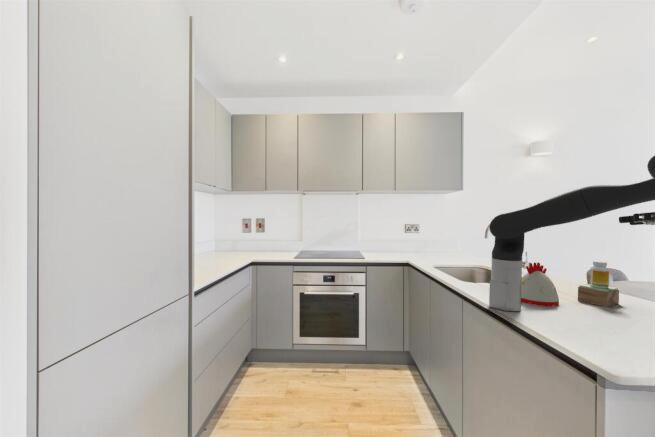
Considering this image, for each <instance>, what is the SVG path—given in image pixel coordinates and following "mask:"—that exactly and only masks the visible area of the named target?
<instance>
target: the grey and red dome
mask: <svg viewBox="0 0 655 437" xmlns="http://www.w3.org/2000/svg"><path fill="white" fill-rule="evenodd" d="M540 263H541V262H533V264H532V263H531V262H529V263H528V264H529V265H526V266H525V268H526V269H525V270H526V271H527V273H526V274H524V275H522V284H521V303H524V304H527V305H528V304H529V305H532V306H537V307H538V306H539V307H557V306H559V303H560V302H559V294H558V291H557V288H556V286H555V284H554V282H553V281H552V280H551V278H550V277H549V276H548V275H547V274H546V273H547V271H548V270H547V269H548V268H545V267H544V265H541V264H540Z"/></svg>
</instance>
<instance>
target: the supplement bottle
mask: <svg viewBox="0 0 655 437" xmlns="http://www.w3.org/2000/svg"><path fill="white" fill-rule="evenodd" d="M592 265H593V266H591V267H590V269H589V271H590V272H589V284H590V286H593V287H598V288H608V287H610V286H609V284H610V281H609V280H610V269H609V267H607V266H608V262H607V261H599V260H592Z"/></svg>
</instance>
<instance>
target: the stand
mask: <svg viewBox="0 0 655 437" xmlns="http://www.w3.org/2000/svg"><path fill="white" fill-rule="evenodd" d="M619 300H620V290H619V289H618V288H617V287H614V286H613V287H611V286H609V287H608V288H598V287H593V286H590V283H586V284H585V283H584V284H580V285H579V286H577V301H578V302H579V301H580V302H584V303H588V304H592V305H597V306H602V307H607V308H609V307H612V306H617V305H620V304H619V303H620V301H619ZM616 304H617V305H616Z"/></svg>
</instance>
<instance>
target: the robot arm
mask: <svg viewBox="0 0 655 437" xmlns="http://www.w3.org/2000/svg"><path fill="white" fill-rule="evenodd" d="M646 167H647V171H648V173H649V175H650V176H651V178H650V179H646V180H642V181H639V182H635V183H630V184H614V185H612V184H591V185H590V184H589V185H584V186H581V187H579V188H575V189H572V190H570V191H567V192H566V191H565V192H564V193H561V194H558V195H556V196H553V197H550V198H548V199H546V200H543V201H541V202H539V203H536V204H535V205H534V204H533V205H532V206H529V207H526V208H523V209H518V210H514V211H510V212H505V213H501V214H498V215H496V216H494V218H492V220H490V223H489V232H490V234H491V235H492V236H494V246H493V248H492V251H491V268H490V269H491V271H490V272H491V273H490V275H491V277H490V278H491V279H489V296H488V299H489V300H488V303H489V304H488V306H489V307H491V308H493V309H497V310H500V311H504V312H520V311H521V310H522V302H521V284H522V277H523V274H522V272H523V254H524V251H525V250H524V249H525V234H526V233H528V232H532V231H535V230H537V229H541V228H546V227H551V226H558V225H563V224H568V223H573V222H577V221H581V220H585V219H588V218H591V217H593V216H594V217H595V216H598V215H601V214H604V213H607V212H611V211H614V210H615V211H616V210H618V209H623V208H626V207H630V206H634V205H638V204H639V205H640V204H642V203H648V202H652V201H655V154H654V155H653V156H651V157H650V159H649V160H648V162H647V166H646ZM618 223H620V224H627V223H629V225H630V226H637V225H639V226H640V225H647V226H648V225H650V226H655V211H653V212H642V213H641V212H640V213H634V214H632V215H626V216H624V215H623V216H619V217H618Z"/></svg>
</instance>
